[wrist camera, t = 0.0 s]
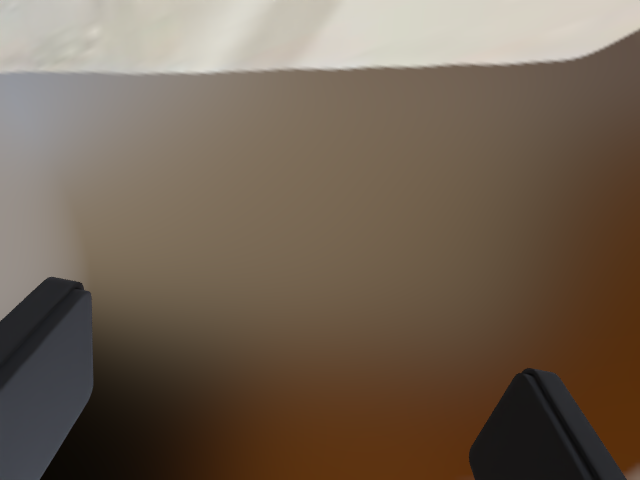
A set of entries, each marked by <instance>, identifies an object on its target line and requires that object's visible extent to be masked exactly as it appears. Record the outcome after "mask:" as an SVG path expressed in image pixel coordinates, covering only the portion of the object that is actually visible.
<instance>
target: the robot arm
mask: <svg viewBox="0 0 640 480" xmlns="http://www.w3.org/2000/svg"><path fill="white" fill-rule="evenodd" d="M92 388H93V352H92V302H91V293H90V292H89V291H85V290H84V287H83V285H82V283H80V282H76V281H71V280H66V279H61V278H55V277H49V278H47V279H46V280H44V281H43V282H42V283H41V284H40V285H39V286H38V287H37V288H36V289H35V290H33V291H32V292H31V293H30V294H29V295H28V296H27V297H26V298H25V299H24V300H23V301H22V302H21V303H20V304H19V305H17V306H16V307H15V308H14V309H13V310H12V311H11V312H10V313H9V314H8V315H7V316H6V317H5V318H4V319H2V320H1V321H0V480H40V478H41V476H42V475H43V473H44V471H45V470H46V468H47V467H48V465H49V463H50V461H51V460H52V458H53V457H54V455H55V454H56V452H57V450H58V449H59V447H60V445H61V444H62V442H63V441H64V439H65V437H66V436H67V434H68V433H69V431H70V429H71V428H72V426H73V425H74V423H75V421H76V420H77V418H78V416H79V415H80V413H81V412H82V410H83V408H84V407H85V405H86V403H87V402H88V400H89V397H90V395H91V392H92ZM469 462H470V466H471V469H472V472H473V475H474V478H475V480H627V479H626V478H625V476H624V475H623V473H622V472H621V470H620V469H619V467H618V466H617V464H616V463H615V461H614V460H613V458H612V456H611V455H610V453H609V452H608V451H607V449H606V447H605V446H604V444H603V443H602V441H601V440H600V438H599V437H598V435H597V434H596V432H595V431H594V429H593V428H592V426H591V425H590V423H589V422H588V420H587V419H586V417H585V416H584V414H583V413H582V411H581V410H580V408H579V407H578V405H577V403H576V402H575V400H574V399H573V398H572V396H571V395H570V393H569V391H568V390H567V389H566V387H565V385H564V384H563V382H562V381H561V379H560V378H559V377H558V376H557V375H556V374H554V373H552V372H547V371H542V370H537V369H531V368H527V369H525V370H524V371H523V372H522V373H518V374H517V375H516V376H515V377H514V378H513V380H512V382H511V383H510V385H509V386H508V388H507V390H506V391H505V393H504V395H503V396H502V398H501V400H500V401H499V403H498V404H497V406H496V407H495V409H494V411H493V412H492V414H491V416H490V417H489V419H488V420H487V422H486V424H485V425H484V427H483V429H482V430H481V432H480V433H479V435H478V437H477V438H476V440H475V442H474V443H473V445H472V447H471V449H470V452H469Z"/></svg>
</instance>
